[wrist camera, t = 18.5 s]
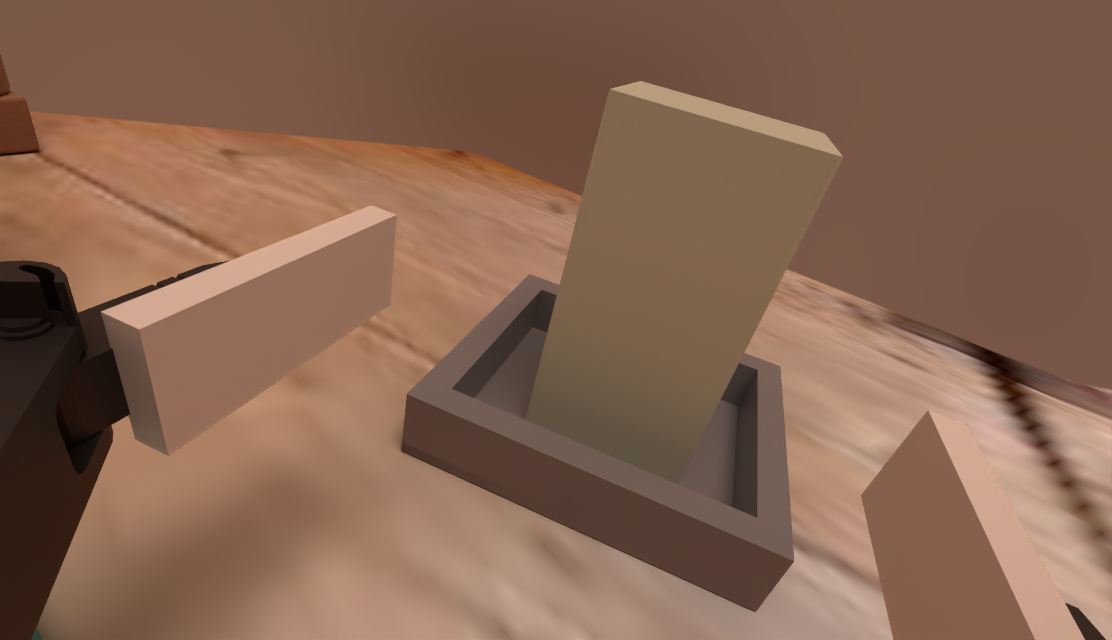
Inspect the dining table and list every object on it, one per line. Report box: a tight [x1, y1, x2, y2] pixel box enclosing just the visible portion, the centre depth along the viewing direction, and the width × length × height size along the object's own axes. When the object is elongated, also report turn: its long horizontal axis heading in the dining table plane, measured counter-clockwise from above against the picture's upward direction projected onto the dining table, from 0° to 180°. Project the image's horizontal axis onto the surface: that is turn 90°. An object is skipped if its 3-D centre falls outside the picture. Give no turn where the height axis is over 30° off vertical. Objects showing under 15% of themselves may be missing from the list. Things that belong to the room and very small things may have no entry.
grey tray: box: [402, 274, 794, 612], centre depth 24 cm, size 14×12×3 cm
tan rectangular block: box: [525, 81, 843, 484], centre depth 21 cm, size 7×5×14 cm
